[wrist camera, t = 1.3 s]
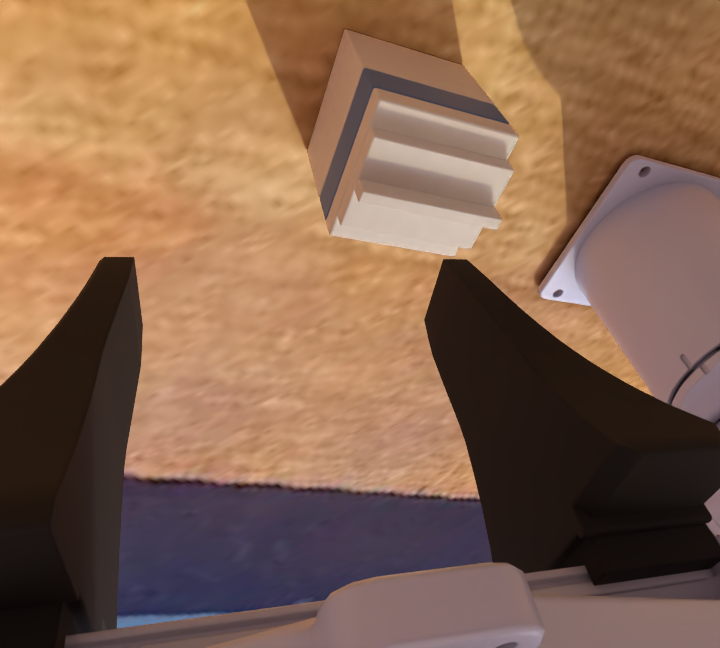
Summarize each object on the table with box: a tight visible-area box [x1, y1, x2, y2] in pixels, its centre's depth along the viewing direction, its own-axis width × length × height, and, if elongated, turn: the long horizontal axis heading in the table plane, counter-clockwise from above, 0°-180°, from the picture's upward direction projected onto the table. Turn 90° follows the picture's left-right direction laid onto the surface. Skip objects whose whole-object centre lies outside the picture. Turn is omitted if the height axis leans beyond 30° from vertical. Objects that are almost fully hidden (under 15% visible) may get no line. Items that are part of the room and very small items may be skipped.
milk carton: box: [307, 29, 519, 256], centre depth 20 cm, size 5×5×7 cm
